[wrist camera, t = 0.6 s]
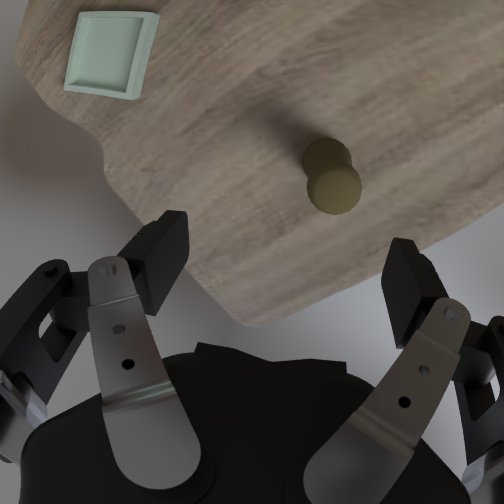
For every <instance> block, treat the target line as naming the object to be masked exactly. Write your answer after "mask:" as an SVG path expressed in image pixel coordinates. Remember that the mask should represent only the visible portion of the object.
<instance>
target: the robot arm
mask: <svg viewBox="0 0 504 504" xmlns="http://www.w3.org/2000/svg"><path fill="white" fill-rule="evenodd" d="M188 256H189V232H188V217H187V213H186V212H185V211H174V210H166V211H165V212H164V214H163V215H162V216H161V217H160V218H159V219H158V220H157V221H152V222H150V223H149V224H147V225H145V226H143V227H142V229H140V231H139V232H138V233H137V235H135V236H134V237H133V238H132V240H130V241H129V242H128V243H127V245H126V246H125V247H124V248H123V249H122V250H121V251H120V252H119V253H118V255H117V256H108V257H103V258H101V259H98V260H96V261H95V262H94V263H92V264H91V265H90V267H89V268H88V271H85V272H70V269H69V266H68V263H67V262H66V261H64V260H61V259H55V260H51V261H48V262H46V263H43V264H42V265H40V266H39V267H38V268H37V269H36V270H35V271H34V272H33V273H32V274H31V275H30V276H29V277H28V279H27V280H26V281H25V282H24V283H23V284H22V285H21V286H20V287H19V288H18V290H17V291H16V292H15V293H14V294H13V295H12V296H11V298H10V299H9V300H8V301H7V302H6V303H5V305H4V306H3V307H2V308H1V310H0V459H1V460H2V461H4V462H7V463H15V464H16V465H18V466H19V467H20V468H21V490H20V500H19V504H504V317H503V316H494V317H493V318H492V319H491V320H490V322H489V324H488V325H487V326H485V325H482V324H480V323H477V322H474V321H471V316H470V313H469V311H468V310H467V308H466V307H465V306H464V305H462V304H461V303H460V302H458V301H456V300H454V299H451V298H449V296H448V294H447V292H446V290H445V288H444V286H443V284H442V282H441V280H440V279H439V276H438V274H437V272H436V270H435V268H434V266H433V264H432V262H431V261H430V260H429V259H428V258H427V257H426V256H424V255H423V254H420V252H419V250H418V249H417V247H416V245H415V243H414V241H413V240H410V239H403V238H396V237H395V238H394V239H393V240H392V242H391V246H390V249H389V252H388V256H387V259H386V262H385V265H384V268H383V272H382V277H381V286H382V290H383V294H384V297H385V302H386V305H387V309H388V313H389V317H390V322H391V326H392V330H393V334H394V339H395V344H396V348H397V349H403V351H402V352H401V354H400V355H399V357H398V358H397V360H396V361H395V362H394V364H393V365H392V367H391V368H390V369H389V370H388V372H387V373H386V374H385V376H384V377H383V379H382V380H381V381H380V382H379V384H378V385H377V386H376V387H373V386H372V385H371V384H369V383H368V382H366V381H364V380H362V379H361V378H358V377H356V376H354V375H351V374H348V373H347V369H346V362H342V361H330V360H318V359H301V360H290V361H277V362H271V361H267V360H263V359H261V358H258V357H255V356H252V355H250V354H247V353H245V352H242V351H239V350H237V349H234V348H229V347H223V346H217V345H211V344H205V343H200V342H198V343H197V346H196V349H195V351H194V353H182V354H176V355H172V356H169V357H166V358H163V359H161V356H160V354H159V351H158V349H157V346H156V344H155V341H154V338H153V335H152V333H151V330H150V327H149V324H148V321H147V318H146V316H145V314H147V315H152V316H156V314H157V312H158V311H159V309H160V307H161V305H162V304H163V302H164V300H165V298H166V296H167V295H168V293H169V291H170V290H171V288H172V286H173V284H174V283H175V281H176V279H177V277H178V276H179V274H180V272H181V271H182V269H183V267H184V265H185V264H186V262H187V260H188ZM48 313H49V314H50V316H51V318H52V320H53V321H52V323H51V324H50V326H49V327H48V328H47V330H46V331H45V333H44V334H43V336H42V337H41V338H39V332H38V331H39V326H40V324H41V322H42V321H43V319H44V318H45V317H46V315H47V314H48ZM87 332H90V335H91V341H92V348H93V354H94V360H95V366H96V370H97V376H98V381H99V386H100V391H101V393H99V394H97V395H95V396H93V397H91V398H89V399H88V400H86V401H84V402H82V403H80V404H78V405H76V406H74V407H72V408H71V409H68V410H67V411H65V412H63V413H61V414H59V415H57V416H55V417H53V418H51V419H49V420H47V408H46V405H47V404H48V402H49V400H50V398H51V396H52V394H53V392H54V390H55V388H56V386H57V385H58V383H59V381H60V379H61V377H62V376H63V374H64V372H65V370H66V368H67V367H68V365H69V363H70V361H71V359H72V358H73V356H74V354H75V353H76V351H77V349H78V348H79V346H80V344H81V342H82V341H83V339H84V337H85V336H86V334H87ZM495 374H496V376H497V379H498V382H499V385H500V393H499V397H498V399H497V401H495V398H494V394H493V390H492V386H491V383H490V380H491V379H492V378H493V377H494V375H495ZM450 380H452V381H454V385H455V390H456V395H457V400H458V405H459V410H460V416H461V422H462V427H463V434H464V442H465V450H466V459H467V468H466V469H465V471H464V473H463V476H462V482H461V481H460V480H459V478H458V477H457V476H456V475H455V474H454V473H453V472H452V471H451V470H450V469H449V467H448V466H447V465H446V464H445V463H444V462H443V461H442V460H441V459H440V458H439V457H438V455H437V454H436V453H435V452H434V451H433V450H432V449H431V448H430V447H429V446H428V444H426V442H425V441H424V440H423V439H422V438H421V436H422V434H423V433H424V431H425V429H426V428H427V425H428V424H429V422H430V420H431V418H432V417H433V415H434V413H435V411H436V409H437V407H438V405H439V403H440V401H441V399H442V397H443V395H444V393H445V391H446V389H447V387H448V385H449V382H450ZM46 420H47V421H46Z"/></svg>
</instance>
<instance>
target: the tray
mask: <svg viewBox="0 0 504 504" xmlns="http://www.w3.org/2000/svg"><path fill="white" fill-rule="evenodd" d="M160 16H161V15H158V14H155V13H153V12H137V11H91V12H80V13H79V17H78V21H77V25H76V29H75V33H74V37H73V41H72V46H71V51H70V56H69V61H68V66H67V72H66V78H65V84H64V90H67V91H75V92H83V93H90V94H97V95H104V96H110V97H116V98H121V99H127V100H133V99H138V98H140V94H141V89H142V84H143V80H144V76H145V71H146V67H147V63H148V59H149V55H150V51H151V47H152V44H153V40H154V37H155V33H156V30H157V26H158V23H159V20H160Z"/></svg>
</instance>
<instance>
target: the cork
mask: <svg viewBox="0 0 504 504" xmlns="http://www.w3.org/2000/svg"><path fill="white" fill-rule="evenodd" d="M303 167H304V170H305V172H306V174H307V176H308V182H307V192H308V196H309V198H310V200H311V202H312V203H313V205H314V206H315V207H316V208H318V209H319V210H320V211H322V212H324V213H326V214H332V215H338V214H343V213H345V212H348V211H350V210H351V209H352V208H353V207H355V206H356V204H357V202H358V201H359V199H360V196H361V191H362V185H361V180H360V177H359V175H358V173H357V172H356V170H355V169H354V168H353V167H352V160H351V155H350V153H349V151H348V149H347V148H346V147H345V146H344V145H343V144H342V143H340V142H339V141H337V140H333V139H328V138H327V139H320V140H318V141H315V142H313V143H312V144H311V145H310V146H309V147H308V148H307V150H306V151H305V153H304V157H303Z"/></svg>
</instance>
